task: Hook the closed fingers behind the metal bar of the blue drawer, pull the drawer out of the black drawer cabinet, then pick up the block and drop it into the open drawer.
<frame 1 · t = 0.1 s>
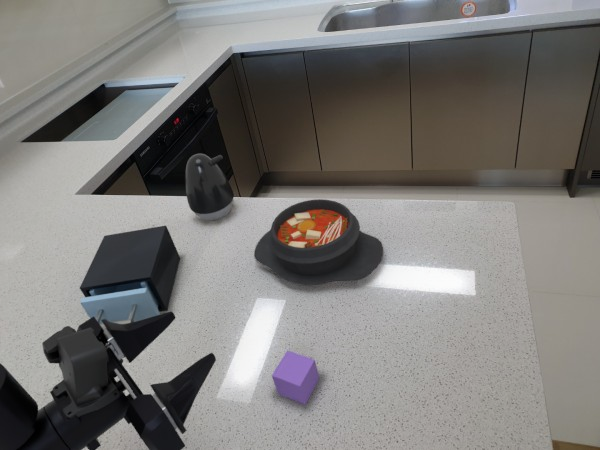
hand: (192, 333, 53), 18 cm above the table, tool horizontal, fingers open, 9 cm apart
block: (298, 386, 66), on the table
pump dispenser: (216, 213, 106), on the table
casserole: (318, 257, 88), on the table
blue drawer: (126, 292, 82), point 4 cm above the table, slide at 1.5 cm
black drawer cabinet: (142, 287, 89), on the table
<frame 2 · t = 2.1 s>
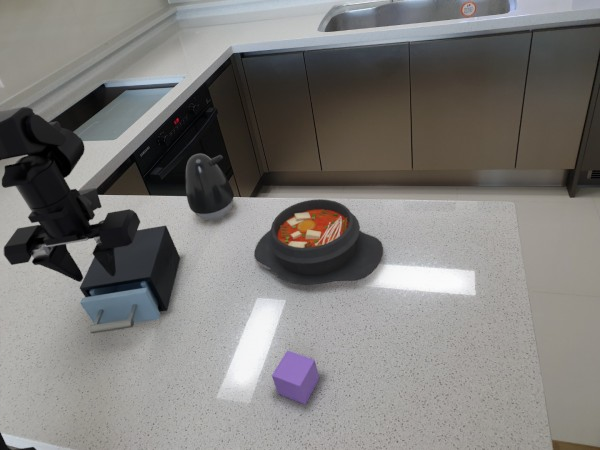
hand: (97, 277, 73), 13 cm above the table, tool pointing down, fingers open, 5 cm apart
nothing on the table moved.
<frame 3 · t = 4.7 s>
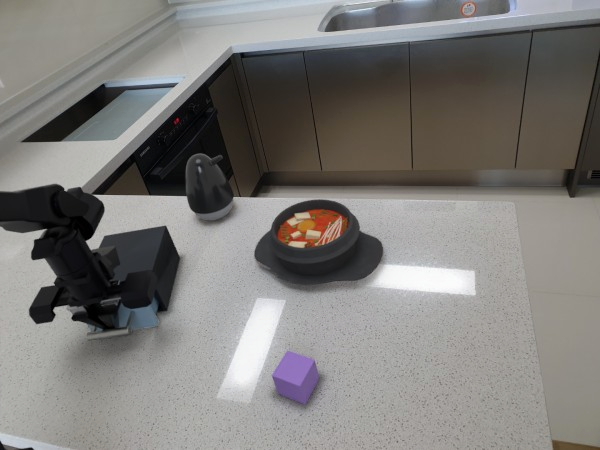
hand: (116, 331, 76), 3 cm above the table, tool pointing down, fingers closed, pressing on blue drawer
blue drawer: (124, 299, 81), point 4 cm above the table, slide at 3.0 cm, touching gripper
everything else where it was.
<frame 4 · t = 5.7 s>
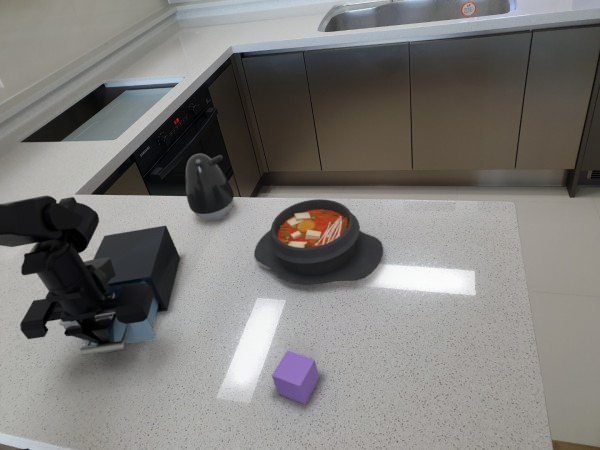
hand: (111, 345, 74), 3 cm above the table, tool pointing down, fingers closed, pressing on blue drawer
blue drawer: (120, 311, 79), point 4 cm above the table, slide at 5.9 cm, touching gripper
everything else where it was.
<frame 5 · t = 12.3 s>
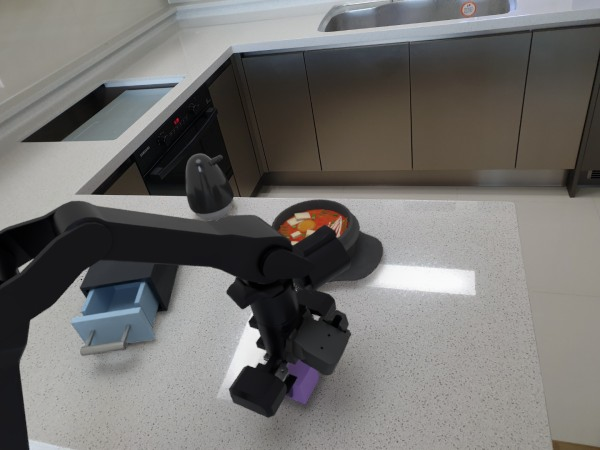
hand: (297, 382, 66), 1 cm above the table, tool pointing down, fingers closed on block, 4 cm apart
block: (298, 386, 66), on the table, touching gripper
blue drawer: (120, 311, 79), point 4 cm above the table, slide at 5.9 cm
everything else where it was.
when the fingers open (9 cm above the table, at t = 17.2 s): block stays where it is, resting on black drawer cabinet, blue drawer.
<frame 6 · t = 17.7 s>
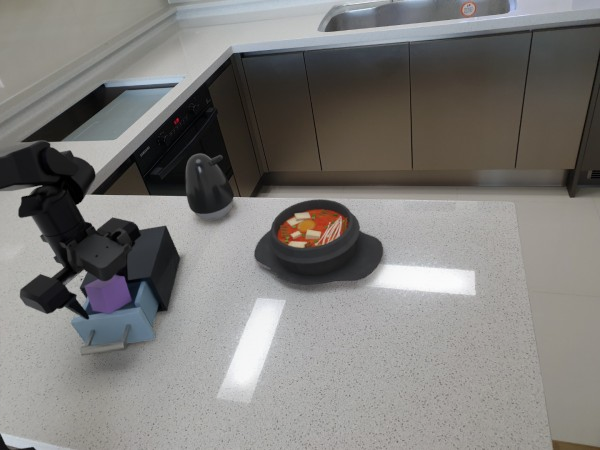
hand: (106, 299, 75), 9 cm above the table, tool pointing down, fingers open, 8 cm apart
block: (112, 305, 76), point 7 cm above the table, tilted 20°, touching black drawer cabinet, blue drawer
blue drawer: (120, 311, 79), point 4 cm above the table, slide at 5.9 cm, touching block
everything else where it was.
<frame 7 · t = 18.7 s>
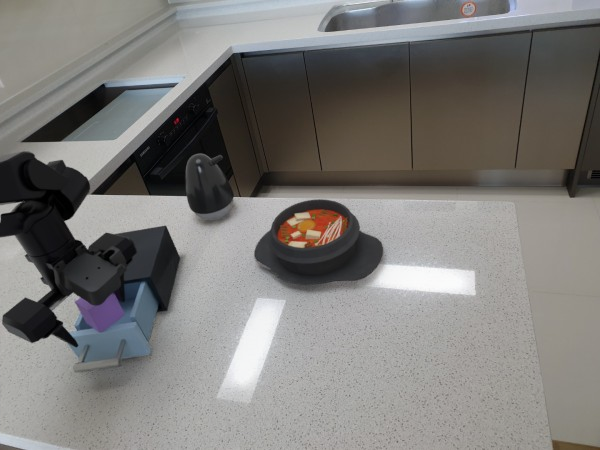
hand: (100, 322, 69), 10 cm above the table, tool pointing down, fingers open, 9 cm apart
block: (105, 319, 73), point 8 cm above the table, tilted 7°, touching gripper
blue drawer: (115, 325, 76), point 4 cm above the table, slide at 9.0 cm
everything else where it was.
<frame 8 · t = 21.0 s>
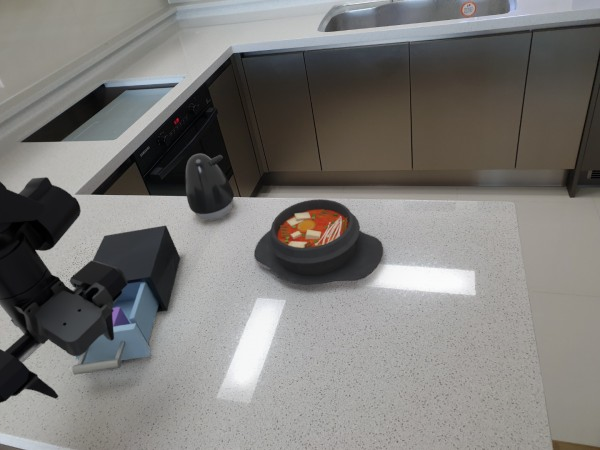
hand: (84, 366, 59), 13 cm above the table, tool pointing down, fingers open, 9 cm apart
block: (105, 338, 74), point 4 cm above the table, tilted 90°, touching blue drawer
blue drawer: (114, 326, 76), point 4 cm above the table, slide at 9.3 cm, touching block
everything else where it was.
at the end: blue drawer slide at 9.3 cm; block inside the target area in the blue drawer (4.8 cm from its centre), point 4.2 cm above the black drawer cabinet's base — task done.
